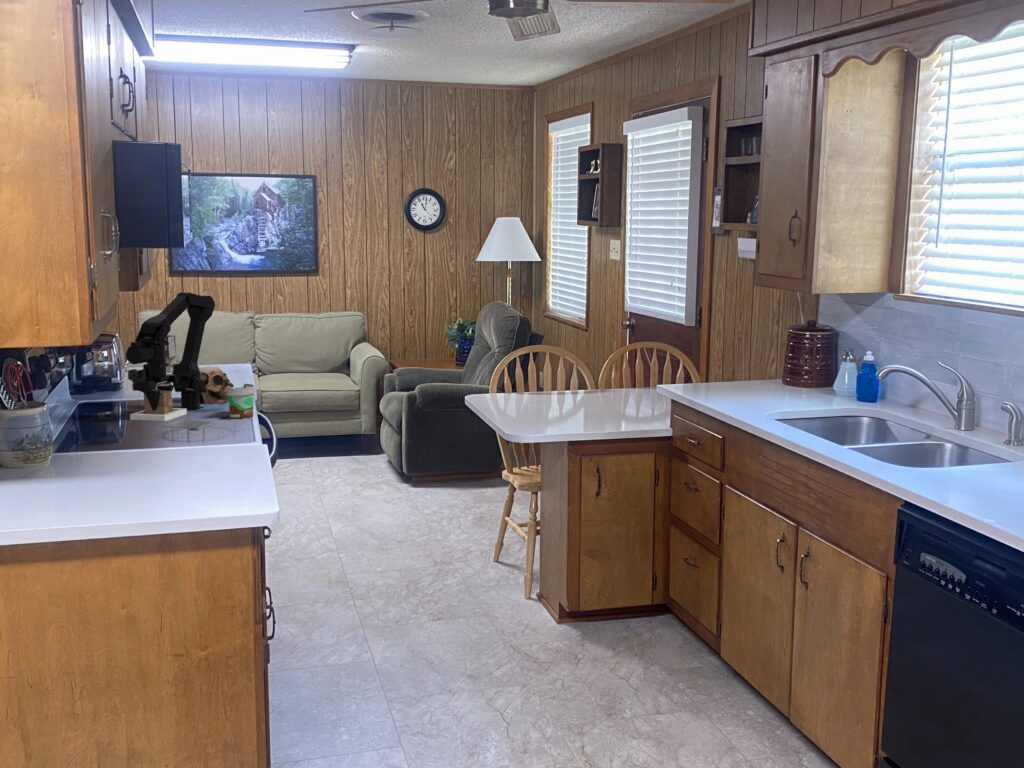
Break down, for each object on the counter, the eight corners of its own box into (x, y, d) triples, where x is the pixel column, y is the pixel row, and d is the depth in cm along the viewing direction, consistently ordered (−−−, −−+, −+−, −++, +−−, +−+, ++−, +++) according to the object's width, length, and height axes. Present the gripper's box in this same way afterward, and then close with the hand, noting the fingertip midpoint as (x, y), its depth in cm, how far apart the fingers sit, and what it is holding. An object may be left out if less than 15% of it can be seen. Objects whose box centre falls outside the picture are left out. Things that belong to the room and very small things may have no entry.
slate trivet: (179, 422, 307) (179, 420, 307) (214, 424, 305) (214, 421, 305) (161, 428, 297) (161, 426, 297) (197, 430, 295) (197, 427, 295)
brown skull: (241, 402, 344) (235, 364, 341) (190, 411, 337) (184, 372, 335) (234, 397, 358) (228, 360, 356) (184, 405, 351) (178, 368, 349)
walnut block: (153, 414, 317) (151, 390, 316) (172, 415, 315) (171, 391, 314) (145, 417, 312) (143, 392, 311) (165, 418, 311) (163, 393, 310)
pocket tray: (153, 414, 322) (153, 407, 321) (186, 415, 319) (186, 408, 319) (130, 421, 309) (129, 414, 309) (164, 423, 307) (164, 415, 306)
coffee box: (178, 373, 416) (176, 335, 414) (170, 375, 410) (168, 336, 408) (158, 372, 418) (156, 334, 416) (150, 374, 412) (148, 336, 409)
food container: (246, 421, 310) (244, 389, 308) (228, 420, 311) (226, 389, 310) (263, 414, 322) (262, 384, 320) (246, 413, 323) (244, 383, 322)
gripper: (149, 356, 322) (152, 403, 324) (115, 363, 304) (118, 413, 306) (180, 357, 320) (182, 404, 322) (148, 364, 302) (150, 414, 304)
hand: (158, 409), depth 314 cm, fingers closed on walnut block, 4 cm apart
